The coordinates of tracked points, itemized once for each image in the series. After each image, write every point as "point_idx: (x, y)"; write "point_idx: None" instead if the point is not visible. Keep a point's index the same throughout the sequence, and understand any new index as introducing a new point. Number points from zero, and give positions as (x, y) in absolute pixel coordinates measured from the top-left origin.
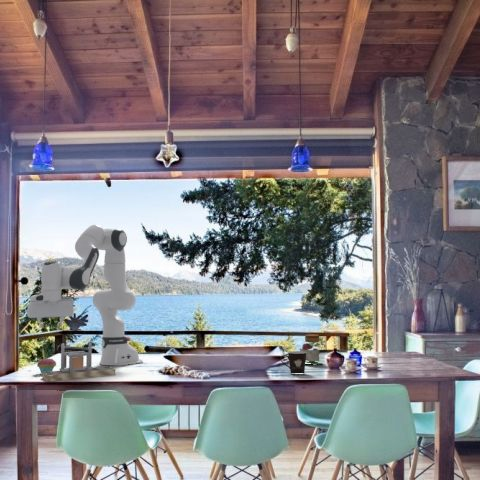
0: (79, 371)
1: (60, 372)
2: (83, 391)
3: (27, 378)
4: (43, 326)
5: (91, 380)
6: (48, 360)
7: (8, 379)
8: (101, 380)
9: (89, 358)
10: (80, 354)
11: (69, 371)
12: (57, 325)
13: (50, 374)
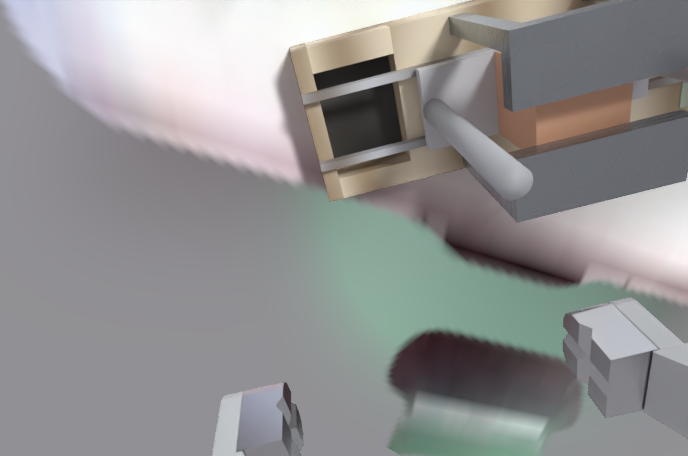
0: None
1: (410, 149)
2: (447, 430)
3: (180, 14)
4: (300, 443)
5: (548, 225)
6: None
7: (37, 8)
8: (591, 239)
9: (681, 80)
10: (604, 196)
11: (467, 163)
12: (577, 324)
13: (343, 163)
